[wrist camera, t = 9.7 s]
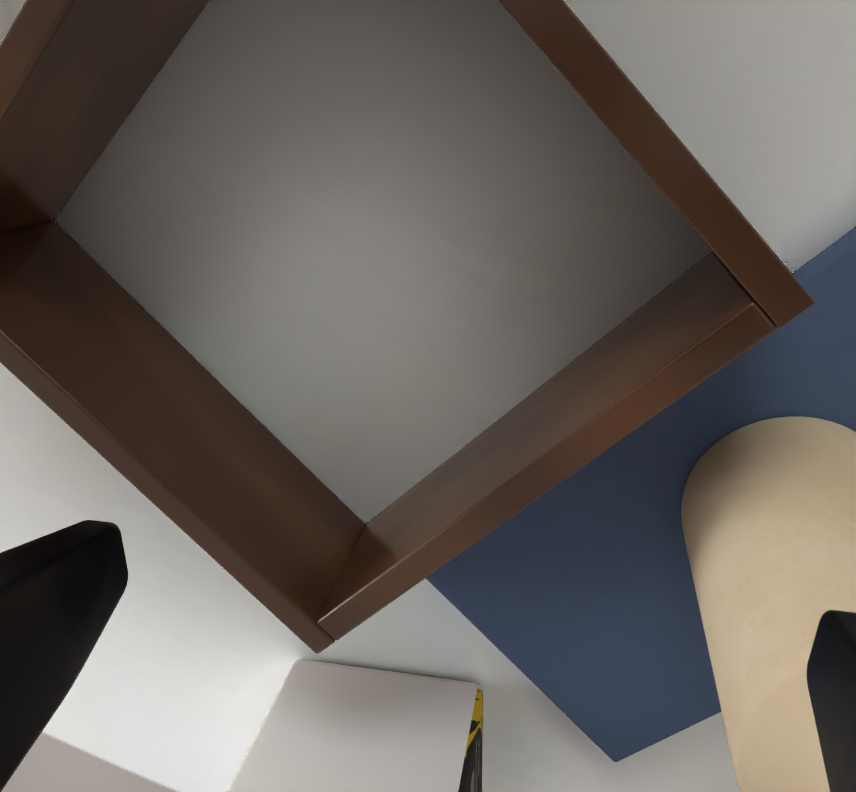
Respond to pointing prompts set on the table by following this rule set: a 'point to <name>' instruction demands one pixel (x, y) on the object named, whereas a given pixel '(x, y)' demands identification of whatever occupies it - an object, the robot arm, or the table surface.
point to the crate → (234, 425)
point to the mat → (647, 536)
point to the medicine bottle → (366, 734)
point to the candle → (772, 583)
